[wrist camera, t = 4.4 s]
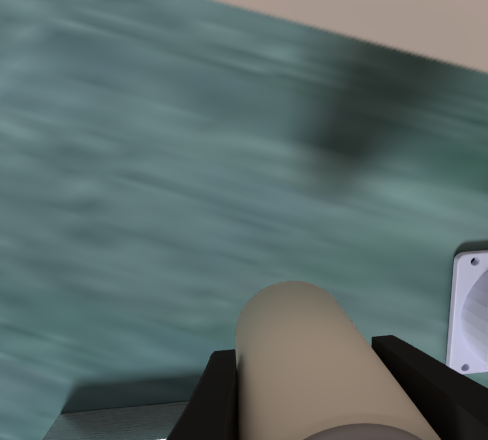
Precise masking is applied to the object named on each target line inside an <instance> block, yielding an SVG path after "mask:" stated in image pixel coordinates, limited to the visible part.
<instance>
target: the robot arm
mask: <svg viewBox="0 0 488 440" xmlns="http://www.w3.org/2000/svg"><path fill="white" fill-rule="evenodd" d="M473 258H474V261H473V262H472V263H471V260H472V259H473ZM372 349H373V350H374V351H375V353H376V354H377V355H378V357H379V358H380V359H381V361H382V362H383V363H384V365H385V366H386V367H387V369H388V370H389V371H390V373H391V374H392V375H393V377H394V378H395V379H396V381H397V382H398V383H399V385H400V386H401V387H402V389H403V390H404V391H405V393H406V394H407V395H408V397H409V398H410V399H411V401H412V402H413V403H414V405H415V406H416V407H417V409H418V410H419V411H420V413H421V414H422V415H423V417H424V418H425V419H426V421H427V422H428V423H429V425H430V426H431V427H432V429H433V430H434V431H435V432H436V434H437V435H438V436H439V438H440V439H441V440H488V388H486V387H484V386H482V385H480V384H479V383H477V382H475V381H473V380H471V379H469V378H468V377H466V376H464V375H462V374H470V373H480V372H488V250H482V251H470V252H461V253H459V254H457V255H456V257H455V259H454V266H453V279H452V292H451V305H450V318H449V331H448V345H447V358H446V365H445V364H443V363H441V362H439V361H438V360H436V359H434V358H433V357H431V356H429V355H427V354H426V353H424V352H422V351H420V350H419V349H417V348H415V347H413V346H412V345H410V344H408V343H406V342H405V341H403V340H401V339H399V338H397V337H395V336H393V335H387V336H376V337H372ZM166 440H239V426H238V389H237V365H236V354H235V349H233V350H222V351H214V352H213V353H212V354H211V356H210V359H209V362H208V364H207V366H206V369H205V371H204V373H203V375H202V377H201V379H200V381H199V383H198V385H197V387H196V389H195V391H194V393H193V395H192V397H191V398H190V400H189V402H188V404H187V406H186V408H185V409H184V411H183V413H182V414H181V416H180V418H179V419H178V421H177V423H176V424H175V426H174V427H173V429H172V431H171V432H170V434H169V435H168V437H167V439H166Z"/></svg>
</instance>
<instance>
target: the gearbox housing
mask: <svg viewBox="0 0 488 440" xmlns="http://www.w3.org/2000/svg"><path fill="white" fill-rule="evenodd" d="M188 402H189V401H185V402H175V403H165V404H155V405H145V406H134V407H124V408H114V409H104V410H94V411H84V412H73V413H63V414H59V416H58V417H57V419H56V420H55V422H54V423H53V425H52V426H51V428H50V429H49V431H48V432H47V434H46V435H45V437H44V438H43V440H166V439H167V437H168V435H169V434H170V432H171V431H172V429H173V427H174V426H175V424H176V423H177V421H178V419H179V418H180V416H181V414H182V413H183V411H184V409H185V408H186V406H187V404H188Z"/></svg>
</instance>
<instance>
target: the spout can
mask: <svg viewBox="0 0 488 440" xmlns="http://www.w3.org/2000/svg"><path fill="white" fill-rule="evenodd" d="M236 363H237V389H238V426H239V440H441V439H440V438H439V436H438V435H437V434H436V432H435V431H434V430H433V429H432V427H431V426H430V425H429V423H428V422H427V421H426V419H425V418H424V417H423V415H422V414H421V413H420V411H419V410H418V409H417V407H416V406H415V405H414V403H413V402H412V401H411V399H410V398H409V397H408V395H407V394H406V393H405V391H404V390H403V389H402V387H401V386H400V385H399V383H398V382H397V381H396V379H395V378H394V377H393V375H392V374H391V373H390V371H389V370H388V369H387V367H386V366H385V365H384V363H383V362H382V361H381V359H380V358H379V357H378V355H377V354H376V353H375V351H374V350H373V349H372V347H371V346H370V345H369V343H368V342H367V341H366V339H365V338H364V337H363V335H362V334H361V333H360V332H359V330H358V329H357V328H356V326H355V325H354V324H353V322H352V321H351V320H350V318H349V317H348V316H347V314H346V313H345V312H344V310H343V309H342V308H341V306H340V305H339V304H338V302H337V301H336V300H335V298H334V297H333V296H332V295H331V294H329V293H328V292H327V291H325V290H324V289H322V288H320V287H319V286H316V285H314V284H311V283H307V282H301V281H287V282H281V283H277V284H274V285H271V286H269V287H267V288H265V289H263V290H261V291H260V292H258V293H257V294H256V295H254V296H253V297H252V298H251V299H250V300H249V301H248V303H247V304H246V305H245V306H244V308H243V310H242V311H241V313H240V316H239V318H238V321H237V325H236Z"/></svg>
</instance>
